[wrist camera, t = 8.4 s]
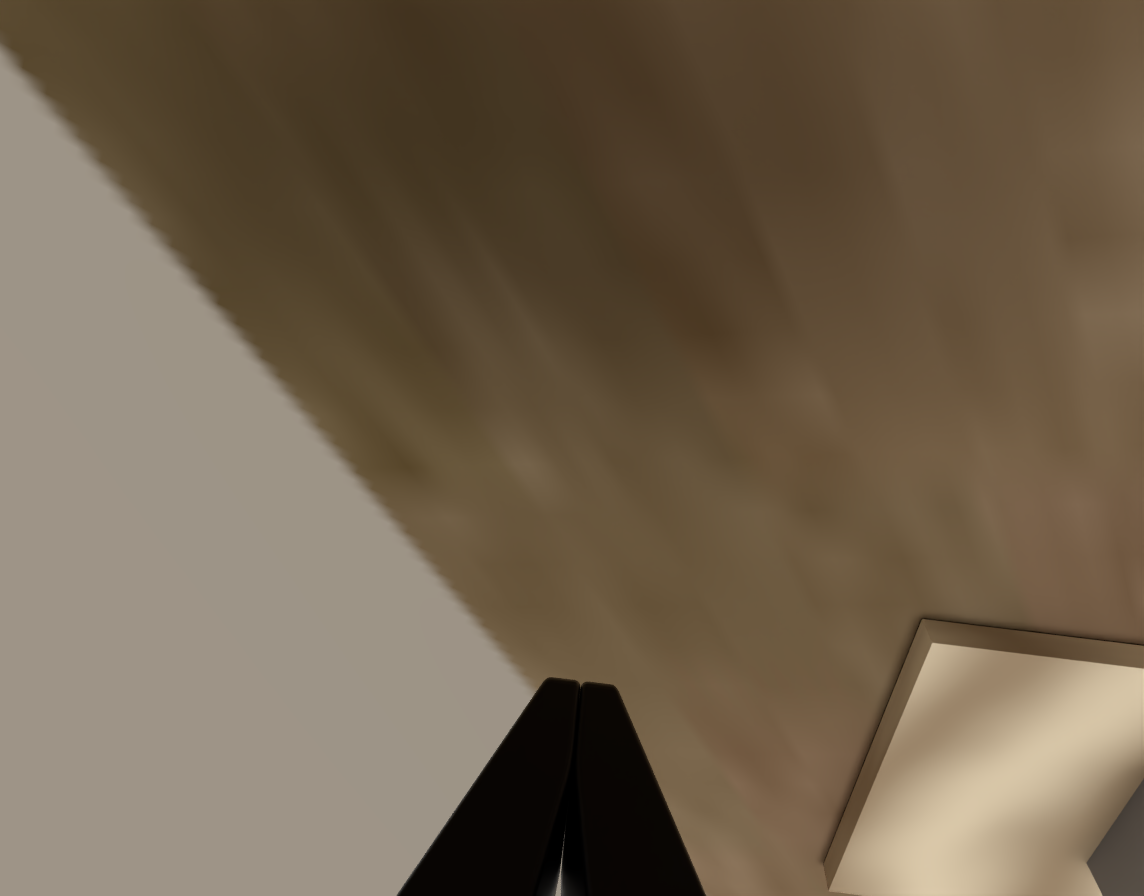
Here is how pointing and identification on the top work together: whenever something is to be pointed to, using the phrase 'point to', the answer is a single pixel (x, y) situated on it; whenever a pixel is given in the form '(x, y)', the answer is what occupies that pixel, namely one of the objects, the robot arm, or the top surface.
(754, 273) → the top surface
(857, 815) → the board
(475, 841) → the robot arm
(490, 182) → the top surface
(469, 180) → the top surface
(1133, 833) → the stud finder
